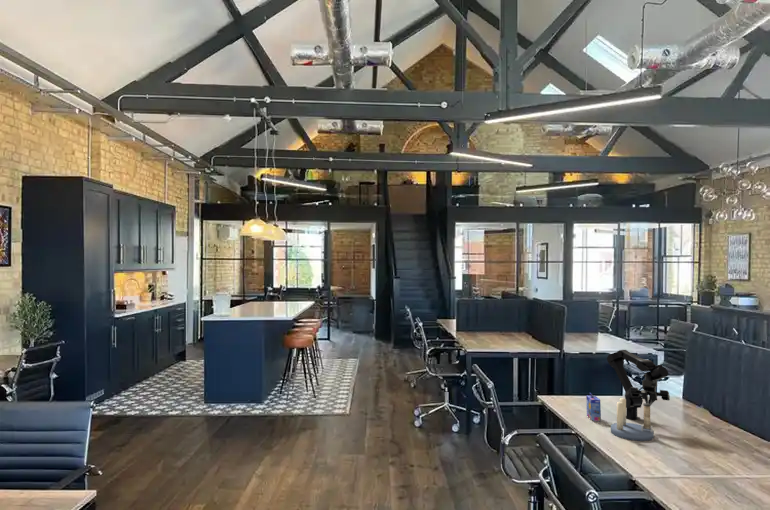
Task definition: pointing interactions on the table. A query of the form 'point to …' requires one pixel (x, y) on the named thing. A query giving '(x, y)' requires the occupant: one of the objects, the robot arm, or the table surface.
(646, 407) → the hinged leg
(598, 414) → the ink cartridge box
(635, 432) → the round peg stand
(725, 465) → the table surface
